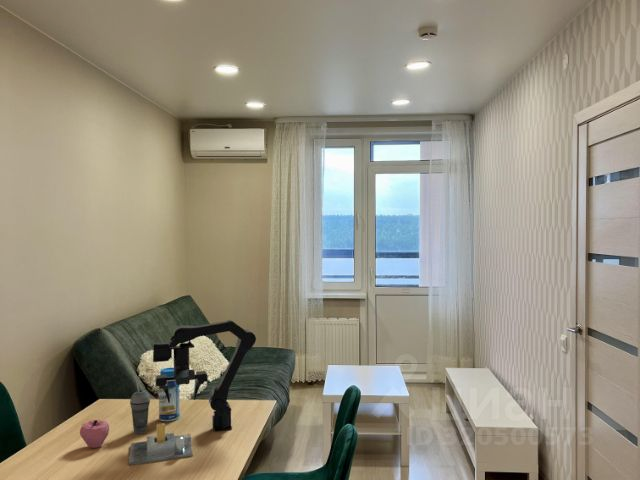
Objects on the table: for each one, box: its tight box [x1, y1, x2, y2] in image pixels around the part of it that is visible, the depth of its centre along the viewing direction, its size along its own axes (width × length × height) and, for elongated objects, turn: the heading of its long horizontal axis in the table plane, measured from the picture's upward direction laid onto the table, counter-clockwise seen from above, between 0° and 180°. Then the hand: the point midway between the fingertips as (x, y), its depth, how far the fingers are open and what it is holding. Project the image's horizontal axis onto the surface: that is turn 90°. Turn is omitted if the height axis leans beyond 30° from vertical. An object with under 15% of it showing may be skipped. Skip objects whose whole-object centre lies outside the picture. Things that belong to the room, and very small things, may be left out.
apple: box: [79, 419, 110, 449], centre depth 177 cm, size 10×9×10 cm
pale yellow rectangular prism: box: [156, 422, 166, 442], centre depth 172 cm, size 3×3×8 cm
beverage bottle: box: [157, 367, 181, 422], centre depth 204 cm, size 8×8×20 cm
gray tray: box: [128, 432, 193, 466], centre depth 172 cm, size 20×16×6 cm
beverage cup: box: [129, 378, 151, 435], centre depth 190 cm, size 7×7×20 cm
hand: (181, 401), depth 188 cm, fingers open, 9 cm apart
